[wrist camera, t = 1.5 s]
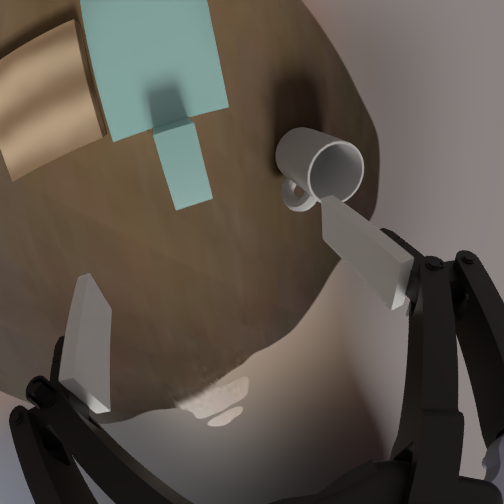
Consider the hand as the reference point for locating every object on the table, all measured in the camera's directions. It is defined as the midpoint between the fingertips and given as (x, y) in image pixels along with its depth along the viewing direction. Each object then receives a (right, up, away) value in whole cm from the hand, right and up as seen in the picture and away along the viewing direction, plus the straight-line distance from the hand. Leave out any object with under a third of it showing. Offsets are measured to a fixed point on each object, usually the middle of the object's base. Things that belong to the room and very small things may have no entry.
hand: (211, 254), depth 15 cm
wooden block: (-21, +17, +7) cm, 27 cm away
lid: (-6, +15, +7) cm, 18 cm away
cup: (+7, +12, +21) cm, 26 cm away
